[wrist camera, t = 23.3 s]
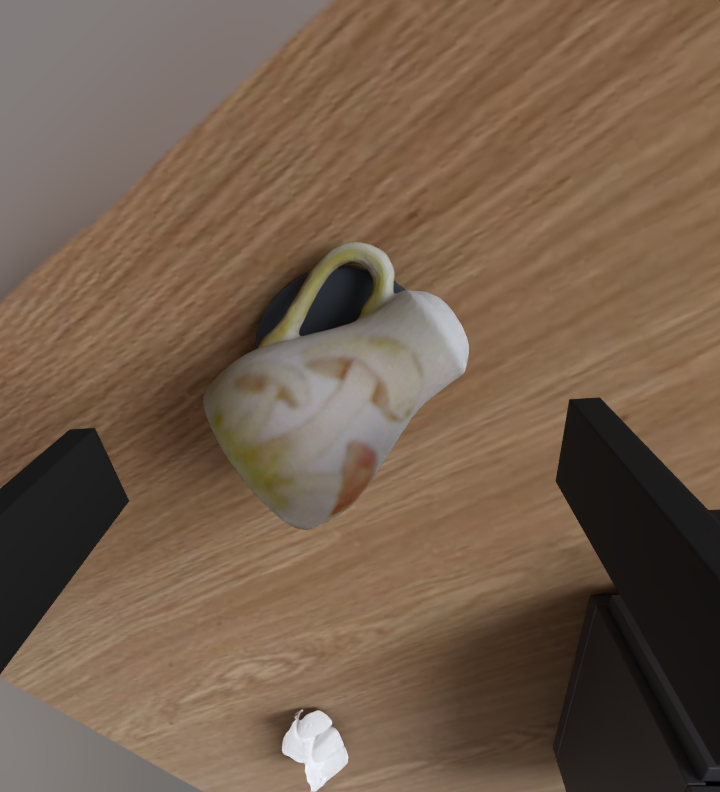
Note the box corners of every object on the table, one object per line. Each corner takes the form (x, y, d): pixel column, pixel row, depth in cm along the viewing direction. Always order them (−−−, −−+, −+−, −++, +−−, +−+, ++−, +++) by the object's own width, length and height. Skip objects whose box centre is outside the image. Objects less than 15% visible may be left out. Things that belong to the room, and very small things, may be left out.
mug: (502, 352, 19) (463, 581, 13) (333, 378, 24) (255, 545, 19) (437, 199, 14) (336, 446, 9) (248, 274, 20) (113, 453, 14)
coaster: (241, 274, 18) (237, 277, 17) (431, 257, 17) (432, 259, 17) (276, 432, 21) (273, 439, 21) (433, 423, 21) (434, 429, 20)
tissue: (356, 710, 34) (353, 770, 30) (346, 757, 37) (343, 815, 34) (287, 703, 34) (277, 762, 30) (284, 751, 37) (275, 809, 34)
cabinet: (590, 594, 26) (700, 809, 17) (804, 588, 25) (1035, 811, 17) (552, 748, 35) (612, 941, 27) (709, 747, 35) (826, 947, 26)
